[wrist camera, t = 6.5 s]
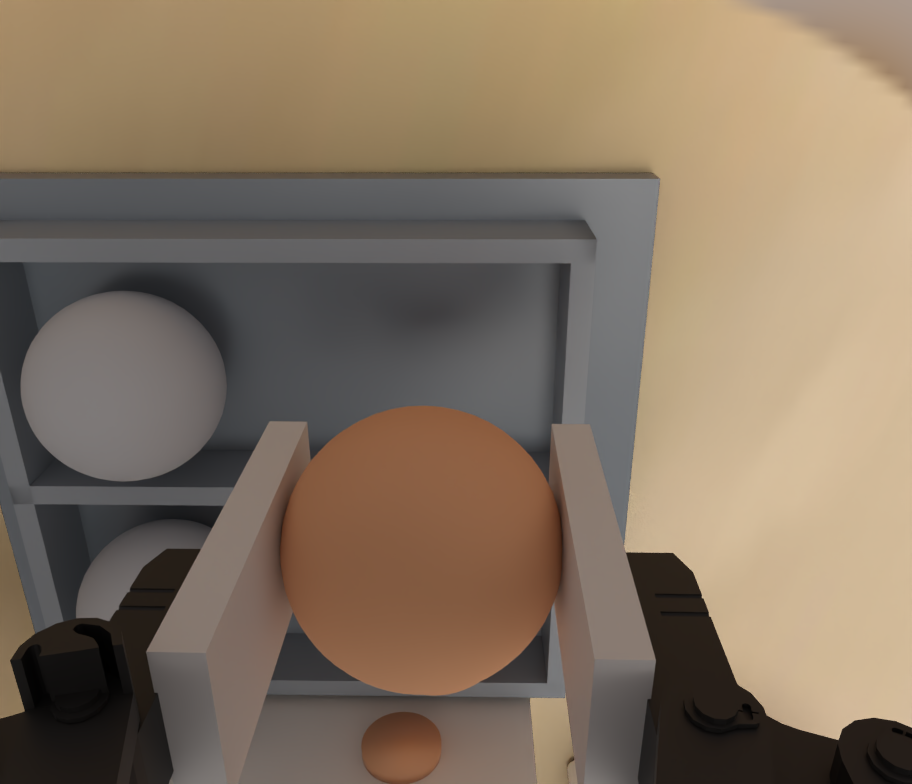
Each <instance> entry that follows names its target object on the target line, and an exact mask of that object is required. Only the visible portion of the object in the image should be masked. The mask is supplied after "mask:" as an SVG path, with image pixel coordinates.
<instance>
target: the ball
mask: <svg viewBox="0 0 912 784" xmlns="http://www.w3.org/2000/svg"><path fill="white" fill-rule="evenodd" d="M280 566H281V572H282V577H283V583H284V588H285V592H286V595H287V598H288V600H289V603H290V606H291V608H292V610H293V613H294V615H295V617H296V619H297V621H298V623H299V625H300V626H301V628H302V629H303V631H304V632H305V634H306V635H307V636H308V638H309V639H310V640H311V642H312V643H313V644H314V646H315V647H316V648H317V649H318V650H319V651H320V652H321V653H322V654H323V655H324V656H325V657H326V658H327V659H328V660H329V661H331V662H332V663H333V664H334V665H335V666H337V667H338V668H340V669H341V670H343V671H344V672H346V673H347V674H349V675H350V676H352V677H354V678H356V679H358V680H360V681H362V682H364V683H366V684H368V685H371V686H374V687H376V688H379V689H383V690H386V691H390V692H396V693H402V694H412V695H431V694H439V693H446V692H450V691H455V690H458V689H461V688H464V687H467V686H470V685H473V684H476V683H478V682H480V681H482V680H484V679H486V678H488V677H490V676H492V675H493V674H495V673H497V672H498V671H500V670H501V669H503V668H504V667H505V666H506V665H508V664H509V663H510V662H511V661H512V660H514V659H515V658H516V657H517V656H518V655H520V654H521V652H522V651H523V650H524V649H525V648H526V647H527V646H528V645H529V644H530V642H531V641H532V640H533V638H534V637H535V636H536V634H537V633H538V631H539V630H540V628H541V627H542V626H543V624H544V622H545V620H546V618H547V616H548V614H549V612H550V610H551V608H552V606H553V603H554V601H555V598H556V595H557V592H558V589H559V585H560V580H561V572H562V529H561V517H560V514H559V510H558V506H557V504H556V501H555V498H554V495H553V492H552V490H551V488H550V486H549V484H548V482H547V480H546V478H545V477H544V475H543V473H542V471H541V470H540V468H539V467H538V465H537V464H536V463H535V461H534V460H533V458H532V457H531V456H530V455H529V454H528V453H527V452H526V451H525V450H524V449H523V448H522V447H521V445H520V444H518V443H517V442H516V441H515V440H514V439H513V438H511V437H510V436H509V435H508V434H506V433H505V432H504V431H503V430H501V429H499V428H498V427H496V426H495V425H493V424H491V423H490V422H488V421H486V420H483V419H481V418H479V417H477V416H475V415H472V414H469V413H466V412H463V411H459V410H455V409H450V408H445V407H437V406H407V407H401V408H395V409H390V410H387V411H383V412H380V413H376V414H374V415H372V416H369V417H367V418H365V419H363V420H360V421H358V422H357V423H355V424H353V425H351V426H350V427H348V428H347V429H345V430H343V431H342V432H340V433H339V434H338V435H336V436H335V437H334V438H333V439H332V440H330V441H329V442H328V443H327V444H326V445H325V446H324V447H323V448H322V449H321V450H320V451H319V452H318V453H317V455H316V456H315V457H314V458H313V459H312V460H311V461H310V463H309V464H308V466H307V467H306V469H305V470H304V472H303V473H302V475H301V476H300V478H299V480H298V482H297V483H296V486H295V488H294V490H293V492H292V494H291V496H290V499H289V502H288V506H287V509H286V513H285V516H284V519H283V523H282V531H281V542H280Z"/></svg>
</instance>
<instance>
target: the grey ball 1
mask: <svg viewBox="0 0 912 784" xmlns="http://www.w3.org/2000/svg"><path fill="white" fill-rule="evenodd" d="M226 391H227V382H226V372H225V367H224V362H223V359H222V357H221V354H220V351H219V349H218V347H217V345H216V343H215V341H214V340H213V338H212V337H211V335H210V334H209V332H208V331H207V330H206V329H205V327H204V326H203V325H202V324H201V323H200V322H199V321H198V320H197V319H196V318H195V317H194V316H193V315H191V314H190V313H189V312H187V311H186V310H185V309H183V308H182V307H180V306H178V305H176V304H175V303H173V302H171V301H169V300H166V299H164V298H162V297H159V296H156V295H152V294H148V293H143V292H136V291H109V292H104V293H99V294H95V295H91V296H88V297H85V298H82V299H80V300H78V301H76V302H74V303H72V304H70V305H68V306H66V307H65V308H63V309H62V310H61V311H59V312H58V313H57V314H55V315H54V316H53V317H52V318H51V319H50V320H49V321H48V322H47V323H46V324H45V325H44V326H43V327H42V328H41V329H40V331H39V332H38V334H37V335H36V337H35V338H34V340H33V341H32V343H31V345H30V347H29V349H28V351H27V354H26V357H25V360H24V363H23V367H22V373H21V399H22V405H23V408H24V412H25V415H26V418H27V420H28V422H29V425H30V427H31V429H32V431H33V432H34V434H35V435H36V437H37V439H38V440H39V441H40V442H41V444H42V445H43V446H44V447H45V448H46V449H47V450H48V451H49V452H50V453H51V454H52V455H53V456H54V457H56V458H57V459H58V460H59V461H61V462H62V463H64V464H65V465H67V466H68V467H70V468H72V469H74V470H76V471H78V472H80V473H83V474H85V475H88V476H91V477H95V478H99V479H104V480H110V481H123V482H124V481H137V480H143V479H149V478H153V477H156V476H160V475H162V474H165V473H167V472H169V471H171V470H174V469H176V468H178V467H179V466H181V465H182V464H184V463H185V462H187V461H188V460H189V459H191V458H192V457H193V456H194V455H195V454H197V453H198V452H199V451H200V450H201V449H202V447H203V446H204V445H205V444H206V443H207V441H208V440H209V439H210V438H211V436H212V434H213V433H214V431H215V429H216V428H217V425H218V423H219V421H220V419H221V416H222V414H223V409H224V405H225V400H226Z"/></svg>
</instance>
